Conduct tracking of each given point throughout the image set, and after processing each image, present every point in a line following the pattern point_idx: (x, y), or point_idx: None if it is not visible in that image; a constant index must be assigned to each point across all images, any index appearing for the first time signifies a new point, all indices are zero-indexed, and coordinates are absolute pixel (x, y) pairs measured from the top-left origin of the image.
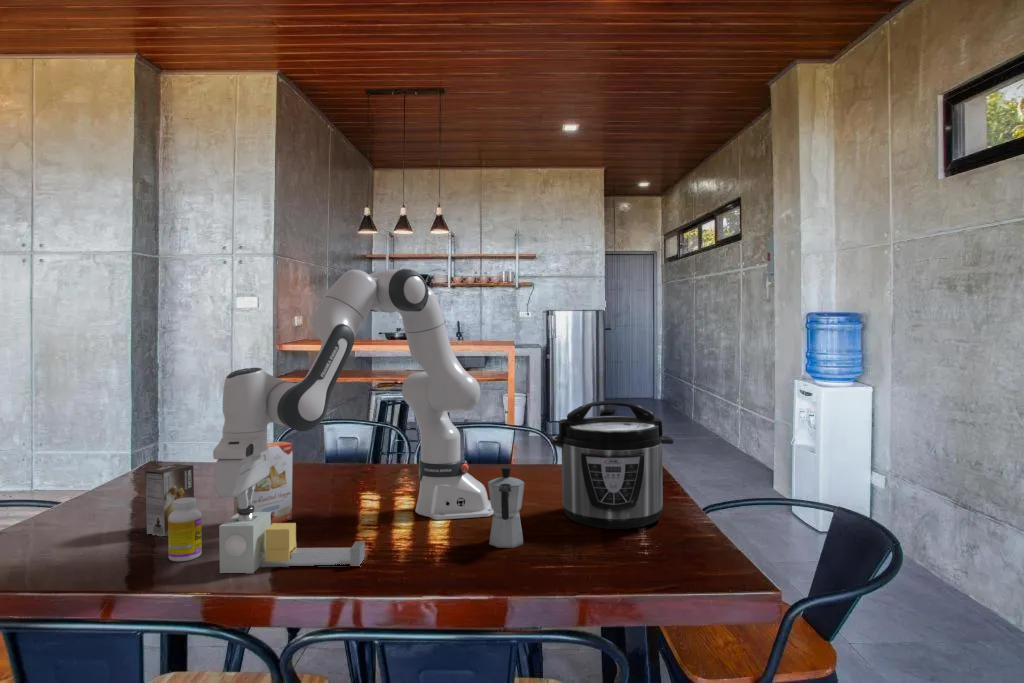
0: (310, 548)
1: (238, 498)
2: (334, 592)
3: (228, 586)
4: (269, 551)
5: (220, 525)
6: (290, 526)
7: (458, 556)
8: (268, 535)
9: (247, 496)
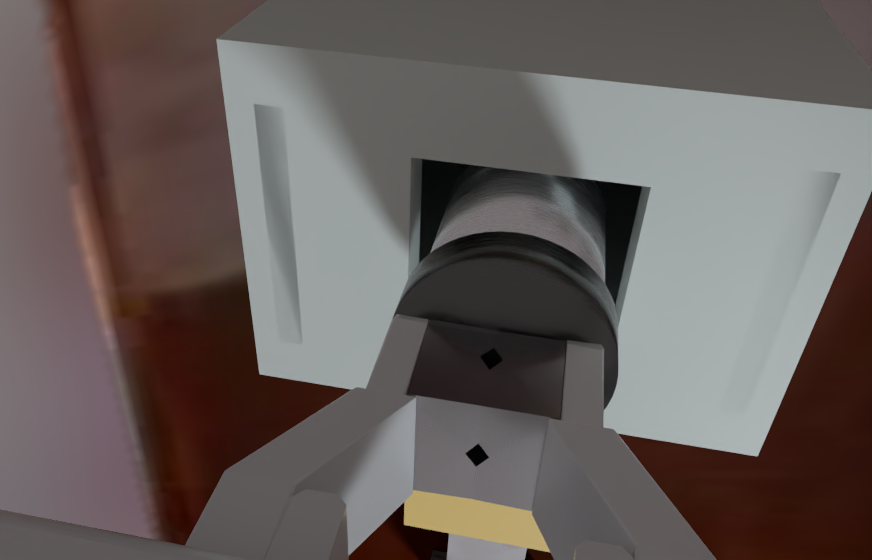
0: None
1: (312, 429)
2: (178, 498)
3: (171, 62)
4: None
5: (241, 45)
6: (476, 530)
7: None
8: None
9: (356, 543)
